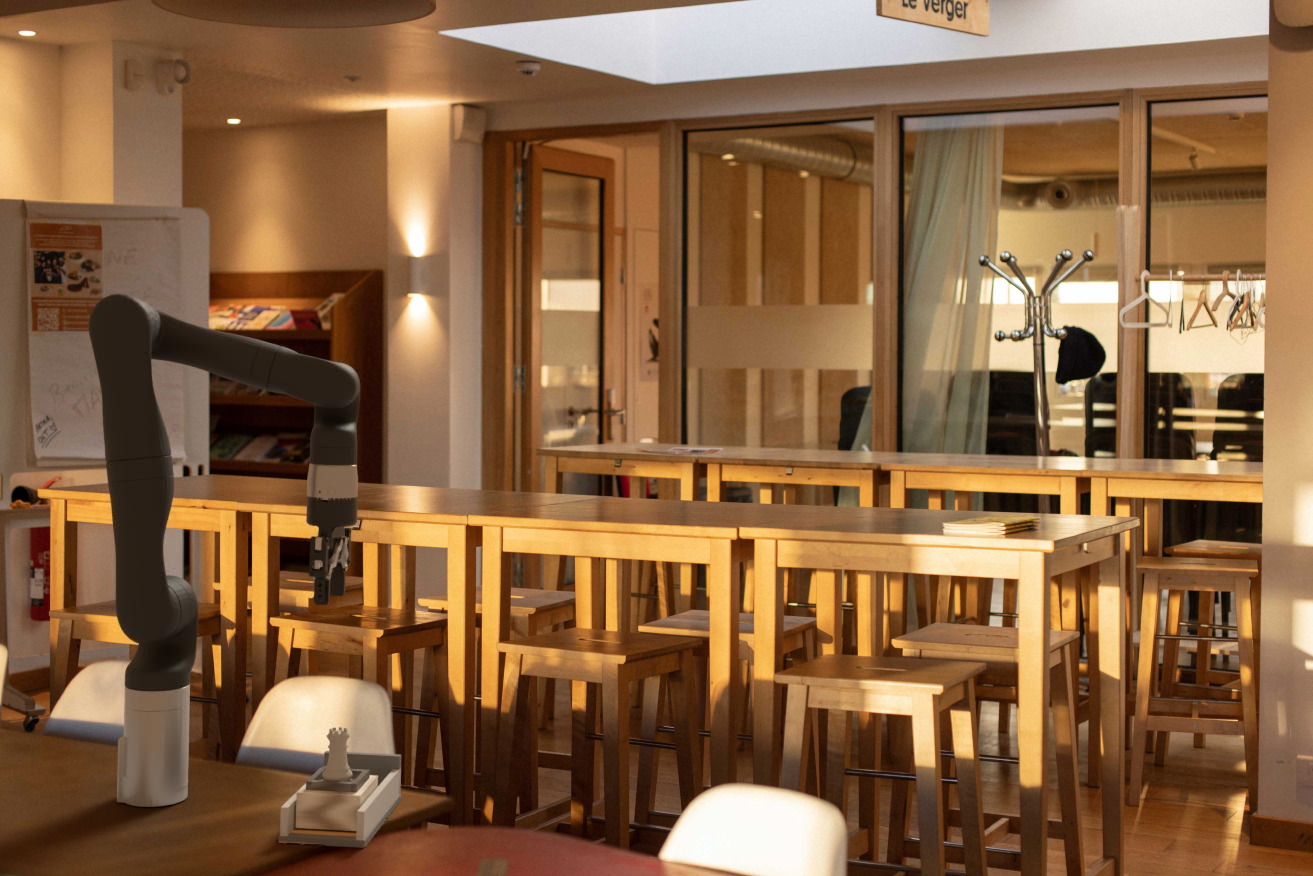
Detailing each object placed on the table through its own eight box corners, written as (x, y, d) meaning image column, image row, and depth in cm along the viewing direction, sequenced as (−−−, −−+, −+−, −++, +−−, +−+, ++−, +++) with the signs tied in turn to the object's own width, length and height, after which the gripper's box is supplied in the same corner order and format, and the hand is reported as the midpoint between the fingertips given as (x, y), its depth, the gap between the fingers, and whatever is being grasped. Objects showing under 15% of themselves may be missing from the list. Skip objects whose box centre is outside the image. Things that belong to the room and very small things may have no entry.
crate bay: (278, 843, 197) (279, 792, 197) (323, 796, 219) (324, 750, 219) (364, 847, 196) (366, 797, 196) (401, 800, 218) (402, 754, 218)
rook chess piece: (344, 790, 201) (346, 734, 201) (315, 787, 202) (316, 731, 201) (358, 782, 205) (359, 727, 205) (329, 779, 206) (330, 724, 206)
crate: (295, 827, 200) (296, 784, 199) (316, 806, 210) (317, 764, 209) (359, 831, 199) (360, 787, 199) (377, 809, 209) (378, 767, 209)
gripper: (321, 489, 225) (318, 591, 225) (293, 496, 210) (291, 606, 211) (368, 491, 224) (365, 594, 225) (344, 498, 210) (341, 608, 211)
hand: (329, 599), depth 218 cm, fingers open, 8 cm apart
